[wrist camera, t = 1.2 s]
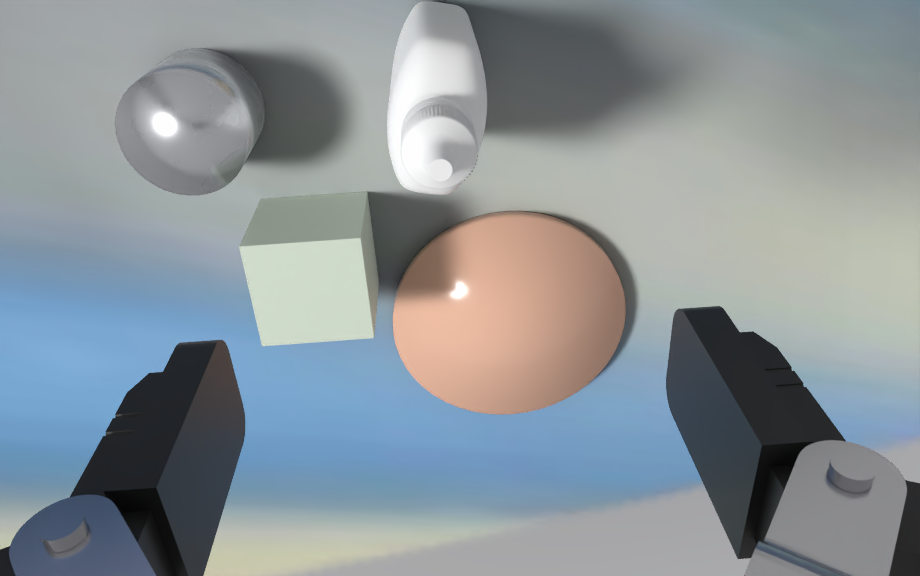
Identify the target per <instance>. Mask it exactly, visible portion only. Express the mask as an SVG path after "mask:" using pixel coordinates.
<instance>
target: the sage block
mask: <svg viewBox="0 0 920 576" xmlns="http://www.w3.org/2000/svg"><path fill="white" fill-rule="evenodd" d="M239 248H240V253H241V257H242V261H243V266H244V270H245V274H246V278H247V283H248V287H249V291H250V296H251V300H252V304H253V309H254V313H255V317H256V321H257V326H258V330H259V334H260V339H261V343H262V346H271V345H285V344H298V343H312V342H326V341H339V340H353V339H367V338H374V334H375V323H376V311H377V300H378V289H379V279H378V271H377V263H376V255H375V247H374V240H373V232H372V224H371V216H370V208H369V200H368V192H353V193H339V194H325V195H310V196H296V197H281V198H267V199H261V200H260V202H259V204H258V207H257V209H256V211H255V213H254V215H253V217H252V220H251V222H250V224H249V226H248V228H247V231H246V233H245V235H244V237H243V239H242V241H241V244H240V246H239Z"/></svg>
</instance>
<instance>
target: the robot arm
mask: <svg viewBox="0 0 920 576" xmlns="http://www.w3.org/2000/svg"><path fill="white" fill-rule="evenodd" d="M666 390H667V398H668V404H669V407H670V411H671V413H672V416H673V418H674V420H675V422H676V424H677V427H678V429H679V431H680V433H681V435H682V438H683V440H684V442H685V444H686V446H687V448H688V451H689V453H690V455H691V457H692V459H693V462H694V464H695V466H696V468H697V470H698V473H699V475H700V477H701V479H702V481H703V484H704V486H705V488H706V490H707V492H708V494H709V497H710V499H711V501H712V503H713V505H714V507H715V510H716V512H717V514H718V516H719V518H720V521H721V523H722V525H723V527H724V530H725V532H726V534H727V536H728V538H729V540H730V542H731V545H732V547H733V549H734V551H735V554H736V556H737V558H738V559H743V558H751V560H750V563H749V565H748V567H747V570H746V572H745V575H744V576H920V483H915V482H910V481H907V480H905V479H904V477H903V475H902V474H901V473H900V471H899V470H898V469H897V468H896V466H894V464H893V463H891V462H890V461H889V460H888V459H886V458H885V457H883V456H882V455H880V454H879V453H877V452H875V451H873V450H871V449H869V448H866V447H864V446H861V445H858V444H854V443H851V442H846V441H845V439H844V438H843V437H842V435H841V434H840V432H839V431H838V430H837V428H836V427H835V426H834V424H833V423H832V422H831V420H830V419H829V417H828V416H827V415H826V413H825V412H824V411H823V409H822V408H821V407H820V405H819V404H818V403H817V401H816V400H815V398H814V397H813V396H812V394H811V393H810V392H809V390H808V389H807V388H806V387H804V386H803V382H802V381H801V379H800V378H799V377H798V375H797V374H796V373H795V371H792V369H791V366H790V364H789V363H788V362H787V360H786V359H785V358H784V356H783V355H782V354H781V352H780V351H779V349H778V348H777V347H775V346H774V345H772V344H771V343H769V342H768V341H766V340H765V339H763V338H762V337H760V336H759V335H757V334H756V333H754V332H739V331H738V329H737V328H736V326H735V325H734V323H733V322H732V320H731V319H730V317H729V316H728V315H727V313H726V312H725V310H724V309H723V308H722V307H720V306H714V307H699V308H685V309H678V310H676V312H675V314H674V318H673V325H672V333H671V342H670V351H669V360H668V368H667V377H666ZM115 415H116V418H113V419H112V421H111V423H110V425H109V427H108V429H107V430H106V436H103V438H102V439H101V441H100V443H99V445H98V447H97V449H96V450H95V452H94V454H93V456H92V458H91V460H90V461H89V463H88V465H87V467H86V469H85V470H84V472H83V474H82V476H81V478H80V480H79V481H78V483H77V485H76V487H75V489H74V491H73V492H72V494H71V496H70V498H67V499H63V500H61V501H58V502H56V503H54V504H51V505H50V506H48V507H46V508H44V509H42V510H41V511H39V512H38V513H37V514H35V515H34V516H33V517H31V518H30V519H29V520H28V521H27V522H26V523H25V524H24V525H23V526H22V527H21V528H20V529H19V531H18V532H17V533H16V535H15V537H14V538H13V540H12V542H11V545H10V546H9V547H6V548H4V549H1V550H0V576H203V575H204V572H205V568H206V565H207V562H208V558H209V555H210V552H211V548H212V545H213V542H214V538H215V535H216V532H217V528H218V525H219V522H220V518H221V515H222V512H223V509H224V505H225V502H226V499H227V495H228V492H229V489H230V485H231V482H232V479H233V475H234V472H235V469H236V465H237V462H238V459H239V455H240V452H241V449H242V446H243V442H244V436H245V413H244V408H243V403H242V400H241V396H240V392H239V388H238V384H237V380H236V377H235V373H234V369H233V365H232V361H231V357H230V354H229V350H228V347H227V345H226V343H225V342H224V341H223V340H213V341H199V342H184V343H179V344H178V345H177V346H176V347H175V349H174V351H173V353H172V355H171V357H170V359H169V361H168V363H167V365H166V367H165V369H164V371H163V372H157V373H149V374H148V375H147V376H145V377H144V378H143V379H142V380H141V381H140V382H139V383H138V384H136V385H135V386H134V387H133V388H132V389H131V390H130V391H128V392H127V394H126V396H125V397H124V399H123V401H122V403H121V405H120V407H119V408H118V410H117V412H116V414H115Z"/></svg>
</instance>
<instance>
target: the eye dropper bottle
mask: <svg viewBox="0 0 920 576" xmlns="http://www.w3.org/2000/svg"><path fill="white" fill-rule="evenodd" d="M486 117H487V88H486V80H485V73H484V68H483V63H482V59H481V55H480V51H479V48H478V44H477V41H476V38H475V35H474V32H473V29H472V25H471V22H470V19H469V16H468V14H467V13H466V11H465V10H464V8H462V7H460V6H458V5H453V4H447V3H440V2H433V1H422V2H419V3H418V4H416V5H415V6H414V7H413V9H412V10H411V12H410V14H409V16H408V17H407V19H406V21H405V24H404V26H403V28H402V31H401V34H400V36H399V39H398V43H397V47H396V51H395V56H394V62H393V70H392V79H391V88H390V97H389V106H388V117H387V136H388V146H389V152H390V157H391V161H392V165H393V168H394V171H395V174H396V176H397V178H398V180H399V182H400V183H401V184H402V186H403V187H404V188H406V189H408V190H410V191H414V192H419V193H426V194H436V195H445V194H450V193H452V192H453V191H454V190H456V189H457V188H458V187H459V185H460V184H461V183H462V182H463V181H464V180H465V178H468V175H471V174H470V173H471V172H473V170H472V169H474V168H475V167H474V166H475V165H476V162H477V158H478V152H479V149H480V146H481V143H482V140H483V136H484V131H485V125H486Z"/></svg>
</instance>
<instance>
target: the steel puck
mask: <svg viewBox="0 0 920 576" xmlns="http://www.w3.org/2000/svg"><path fill="white" fill-rule="evenodd" d="M264 120H265V106H264V101H263V97H262V94H261V91H260V89H259V87H258V85H257V83H256V81H255V80H254V79H253V77H252V76H251V74H250V73H249V72H248V71H247V70H246V69H245V68H244V67H243V66H242V65H241V64H240V63H238V62H237V61H235V60H234V59H232V58H231V57H229V56H227V55H225V54H223V53H220V52H218V51H214V50H210V49H204V48H191V49H185V50H181V51H178V52H176V53H173V54H171V55H170V56H168V57H167V58H165V59H164V60H163V61H161V62H160V63H159V64H158V65H156V66H155V67H154V68H153V69H151V70H150V71H149V72H148V73H146V74H145V75H144V76H143V77H141V78H140V79H139V80H138V81H136V82H135V83H134V84H133V85H132V86H131V87H129V88H128V90H127V91H126V92H125V93H124V95H123V96H122V98H121V100H120V102H119V105H118V107H117V112H116V117H115V128H116V135H117V139H118V142H119V145H120V148H121V150H122V152H123V154H124V156H125V157H126V159H127V160H128V162H129V163H130V164H131V166H132V167H133V168H134V169H135V170H136V171H137V172H138V173H139V174H140V175H141V176H142V177H143V178H145V179H146V180H147V181H149V182H150V183H152V184H154V185H155V186H157V187H159V188H162V189H164V190H166V191H169V192H172V193H176V194H181V195H203V194H208V193H212V192H214V191H217V190H219V189H221V188H223V187H224V186H226V185H227V184H229V183H230V182H231V181H232V180H233V179H234V178H235V177H236V176H237V174H238V173H239V171H240V170H241V168H242V166H243V165H244V163H245V161H246V159H247V158H248V156H249V154H250V152H251V150H252V149H253V147H254V145H255V143H256V142H257V140H258V138H259V136H260V134H261V132H262V129H263V126H264Z"/></svg>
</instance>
